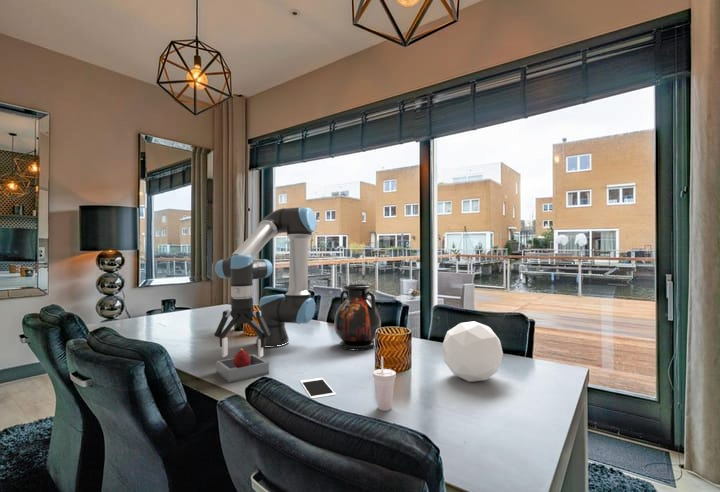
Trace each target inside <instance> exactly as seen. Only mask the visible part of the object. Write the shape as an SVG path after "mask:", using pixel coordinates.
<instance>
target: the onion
mask: <svg viewBox="0 0 720 492" xmlns="http://www.w3.org/2000/svg"><path fill="white" fill-rule="evenodd" d="M249 355H250V354H249V353H248V352H247V351H245V350H244V349H243V348H239V351H238V352H237V353H236V354H235V355H234V357H233V358H234V360H233V363H234V365H235V367H237V368H241V367H245V366H249V364H250V356H249Z"/></svg>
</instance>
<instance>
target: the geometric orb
mask: <svg viewBox="0 0 720 492" xmlns="http://www.w3.org/2000/svg"><path fill="white" fill-rule="evenodd" d="M442 342H443V343H442V345H441V346H442V354H443V355H442V356H443V362H444V363H445V365H446V366H447V368H448V369H449V371H450V372H452V374H453V376H454V375H455V377H456V376H457V377H458V378H460V379H462V380H465V381H467V382H468V383H471V382H479V381H482V382H483V381H487V380H489V379H490V378H491V377H492V376H494V375H495V374H496V373H497V372H499V369H500V367H501V363H502V360H503V356H504V351H503V348H502V347H503V346H502V343H501V339H499V337H498V336H497V334H496V333H495V332H494V331H493V329H492V328H491V327H490V326H488V325H487V324H483V323H481V322H477V321H472V320H471V321H467V322H466V321H465V322H460V323H458V324H457V325H455V326H454V327H451V328H450V329H449V330H447V331H446V334H445V336H444V339H443V341H442Z"/></svg>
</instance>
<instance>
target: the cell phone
mask: <svg viewBox="0 0 720 492" xmlns="http://www.w3.org/2000/svg"><path fill="white" fill-rule="evenodd" d="M299 382H300V384H301V386H302V387H303V389H304V390H305V392H306V393H307V395H308V396H309V398H310V399H311V398H312V400H314V399H320V398H326V397H333V396H336V395H337V394H336V392H335V391H334V390H333V388H332V387H331V386H330V384H328V383H327V381H326V380H325V379H324V378H323V377H317V378H316V377H315V378H309V379H303V380H302V379H301V380H299Z"/></svg>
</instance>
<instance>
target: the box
mask: <svg viewBox="0 0 720 492" xmlns="http://www.w3.org/2000/svg"><path fill="white" fill-rule="evenodd" d="M249 356H250V364H249V366H245V367H241V368H237V367H235V365H234V363H233V360H234V357H233V358H227V359H226V358H225V359H222V360H221V359H220V360H216V370H215V371H216V373H217V374H218V375H219V376H221V378H223V379H224V380H225V381H226V382H228V383H229V384H230V383H235V382H239V381H243V380H247V379H248V380H249V379H252V378H256V376H257V377H262V376H266V375H270V363H269V362H268V361H267V360H265V359H263V358H262V357H261V358H258V355H256V354H249ZM261 375H262V376H261Z"/></svg>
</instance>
